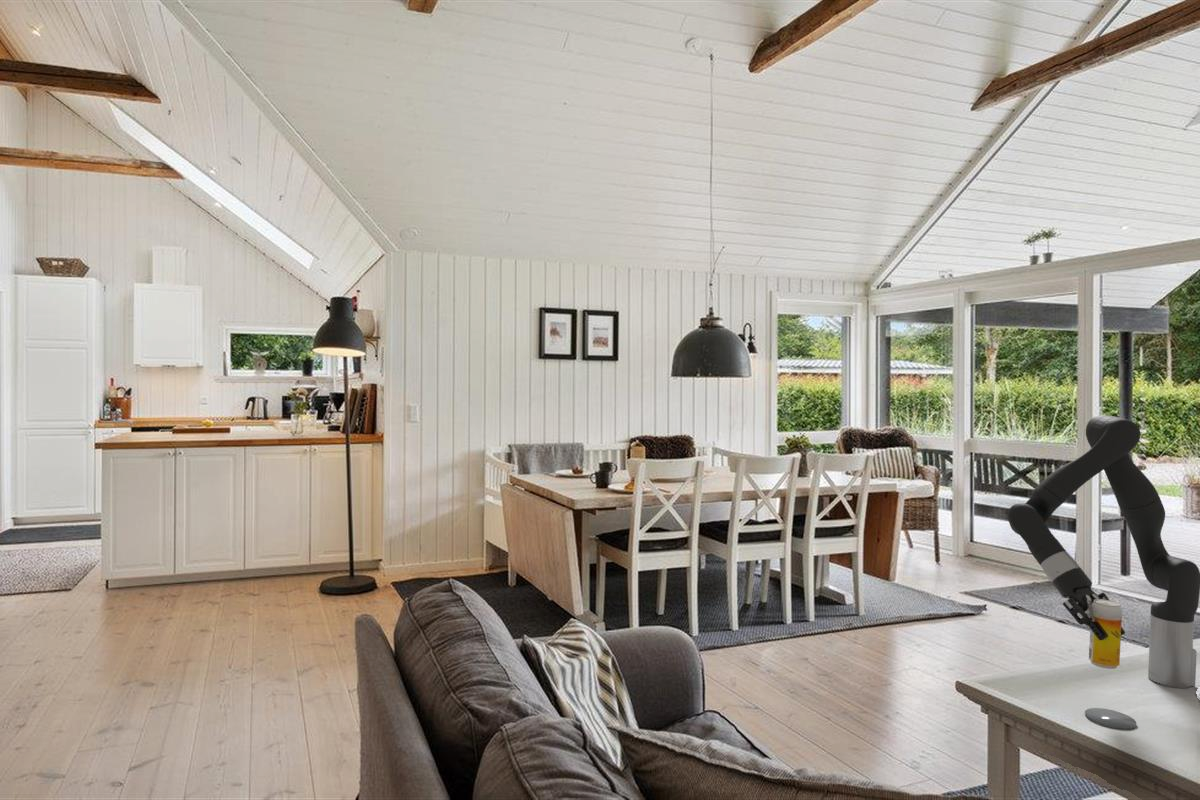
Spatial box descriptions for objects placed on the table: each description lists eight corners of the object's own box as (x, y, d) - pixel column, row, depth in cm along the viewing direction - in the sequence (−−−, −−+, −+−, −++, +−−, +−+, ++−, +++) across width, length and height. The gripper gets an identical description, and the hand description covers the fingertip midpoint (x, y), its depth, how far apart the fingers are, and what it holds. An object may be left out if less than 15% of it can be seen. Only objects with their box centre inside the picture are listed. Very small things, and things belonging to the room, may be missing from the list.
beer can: (1123, 671, 177) (1127, 607, 176) (1094, 668, 178) (1097, 604, 178) (1112, 661, 183) (1115, 599, 182) (1084, 658, 184) (1087, 597, 183)
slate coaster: (1118, 711, 183) (1118, 708, 183) (1146, 730, 173) (1146, 727, 173) (1075, 709, 183) (1075, 707, 183) (1101, 728, 173) (1101, 726, 173)
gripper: (1058, 569, 183) (1106, 633, 173) (1094, 563, 189) (1143, 625, 179) (1036, 585, 188) (1082, 648, 178) (1072, 579, 194) (1119, 640, 184)
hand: (1112, 636), depth 179 cm, fingers closed on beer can, 6 cm apart
